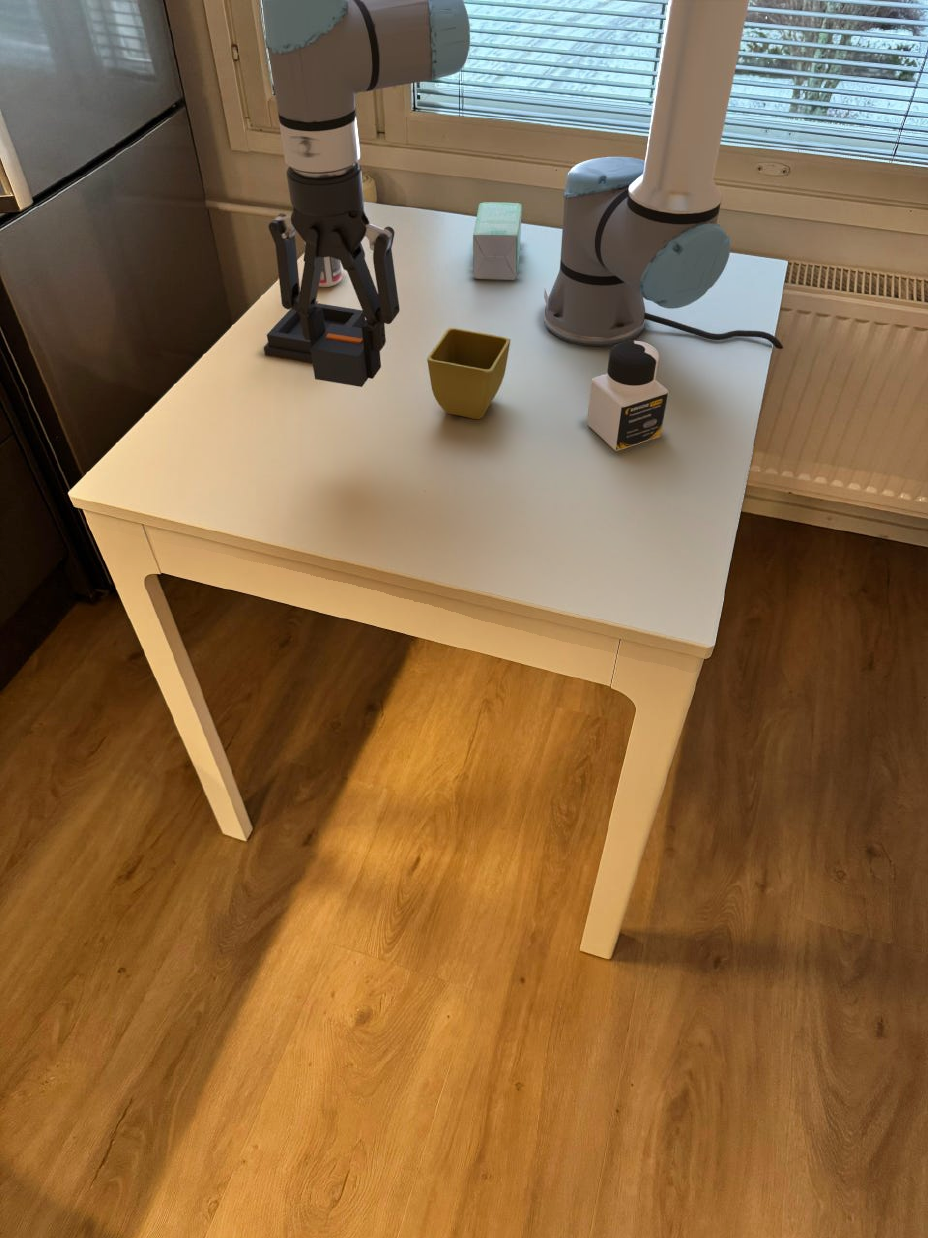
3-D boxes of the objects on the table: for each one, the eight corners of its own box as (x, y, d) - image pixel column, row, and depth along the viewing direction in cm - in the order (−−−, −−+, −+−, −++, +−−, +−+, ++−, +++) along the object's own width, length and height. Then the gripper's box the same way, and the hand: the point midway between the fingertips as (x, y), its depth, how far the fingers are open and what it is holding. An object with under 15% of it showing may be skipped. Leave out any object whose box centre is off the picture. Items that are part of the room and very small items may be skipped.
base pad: (371, 327, 139) (369, 309, 137) (339, 367, 131) (337, 348, 129) (299, 315, 142) (297, 297, 140) (264, 354, 134) (261, 335, 132)
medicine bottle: (615, 452, 117) (627, 370, 108) (585, 424, 121) (594, 342, 113) (661, 437, 119) (676, 355, 110) (630, 410, 124) (642, 328, 115)
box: (520, 243, 159) (522, 200, 153) (517, 280, 149) (518, 235, 144) (478, 243, 159) (478, 199, 154) (472, 279, 150) (472, 234, 144)
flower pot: (509, 396, 126) (511, 337, 120) (490, 431, 120) (491, 371, 114) (449, 385, 128) (448, 326, 122) (427, 419, 122) (425, 359, 116)
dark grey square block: (380, 360, 110) (377, 328, 107) (362, 387, 106) (358, 354, 103) (334, 353, 111) (330, 321, 108) (314, 379, 107) (309, 346, 104)
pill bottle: (334, 269, 152) (328, 210, 145) (347, 283, 149) (340, 223, 142) (304, 277, 151) (296, 217, 144) (316, 290, 147) (308, 230, 140)
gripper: (220, 168, 91) (261, 372, 108) (398, 188, 87) (412, 397, 104) (254, 141, 96) (288, 340, 113) (424, 159, 92) (433, 363, 109)
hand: (347, 367), depth 108 cm, fingers closed on dark grey square block, 6 cm apart
